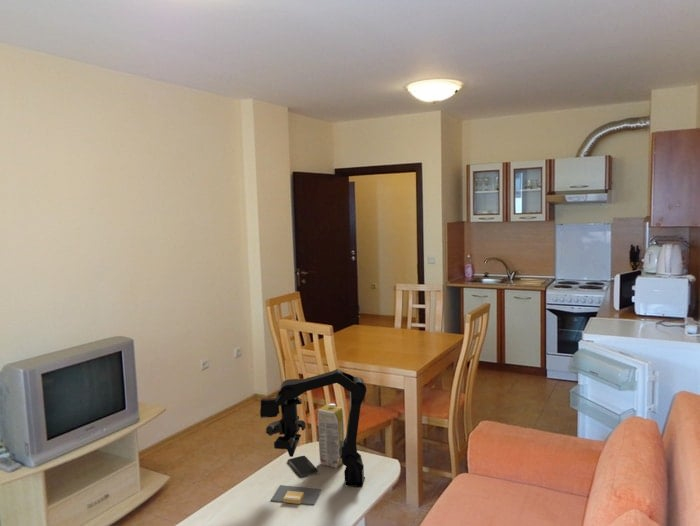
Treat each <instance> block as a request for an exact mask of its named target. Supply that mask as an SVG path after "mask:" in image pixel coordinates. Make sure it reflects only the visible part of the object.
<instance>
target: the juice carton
mask: <svg viewBox="0 0 700 526" xmlns="http://www.w3.org/2000/svg"><path fill="white" fill-rule="evenodd" d="M344 420H345V419H344V411H343V407H341V406H336V403H329V404H325V405H324V406H321V407H320V408H318V411H317V426H318V429H317V431H318V447H319V449H318V451H319V462H320V464H321V465H324V466H327V467H331V468H334V469H336V468H338V467H340V465H342V464H343V463H342V458H340V454H339V449H340V441H344V440H345V422H344Z"/></svg>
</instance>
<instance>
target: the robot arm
mask: <svg viewBox="0 0 700 526" xmlns="http://www.w3.org/2000/svg"><path fill="white" fill-rule="evenodd" d="M365 383H366V382H365V381H364V379H363V378H362V377H361V376H354V375H352V374H350V373H347V372H346V371H345V372H344V371H343V370H341V369H338V368H337V369H334V370H331V371H328V372H325V373H321V374H317V375H314V376H310V377H306V378H293V379H291V378H290V379H284V380H283V381H282V383H281V384H280V388H279V391H278V393H277V394H276V396H275V398H273V397H271V398H265V397H264V398H263V397H262V398H261V399H260V412H259V415H260V418H261V419H266V418H277V417H278V416H279V415H280V411H281V418H280V420H277V421H273V422H271V423H268V425H267V426H266V427H265V430H266V431H265V433H266V434H267V435H269V436H270V437H272V436H273V435H276V434H279V435H280V436H279V435H278V437H277V438H276V440H274V442H273V448H274V449H275V450H286V451H287V454H288V455H289V457H291V458H294V454H295V452H296V451H297V450H296V449H297V447H298V444H299V441H300V439H301V436H302V435H301V434H299V433H298V432H299V431H300V430H301V431H305V430H306V424H307V423H306V422H305V421H304V420H301V419H300V416H299V415H298V405H302V404H303V399H302V398H300V396H301V395H302V394H305V393H306V392H309V391H313V390H315V389H316V390H317V389H320V388H324V387H328V386H330V385H334V384H338V385H339V386H341V387H343V389H345V390H346V391H348V392H349V401H350V402H349V410H348V417H347V425H346V433H345V437H344V441H340V449H339V454H340V458H342V464H343V466H345V469H344V471H343V473H344V482H345V483H344V486H348V487H358V488H359V487H360V488H362V487H363V486H364V483H365V480H366V476H365V467H364V463H363V459H362V455H361V454H360V453H359V452H358V448H357V447H358V445H357V438H358V431H359V421H360V414H361V407H362V404H363V402H364V400H365V397H366V393H367V386H366V384H365ZM300 428H301V429H300Z"/></svg>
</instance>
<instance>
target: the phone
mask: <svg viewBox="0 0 700 526" xmlns="http://www.w3.org/2000/svg"><path fill="white" fill-rule="evenodd" d="M287 464H288V465H289V466H290V468H291V469H292V470H293V471H294V472H295V474H296V475H297V476H298V478H305V477H306V478H307V477H309V476H312V475H316V474H317V475H318V473H319V470H318V468H316V466H315V465H314V464H313V463H312V461H311V460H310V459H309V458H308V457H307V456H305V455H300V456H297V457H291V458H288V459H287Z"/></svg>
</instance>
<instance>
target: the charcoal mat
mask: <svg viewBox="0 0 700 526" xmlns="http://www.w3.org/2000/svg"><path fill="white" fill-rule="evenodd" d="M287 491H296V492H304V497H303V499H302V501H301V502H300V504H299V505H306V506H307V505H310V506H315V504H316V502H317V500H318V499H319V496H320V494H321V492H322V488H319V487H307V486H306V487H305V486H296V485H295V486H294V485H284V484H280V485H279V486H278V488H277V489H276V491H275V492H274V494H273V496H272V497H271V499H270V502H275V503H286V502H283V498H284V496H285V495H286V493H287Z"/></svg>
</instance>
